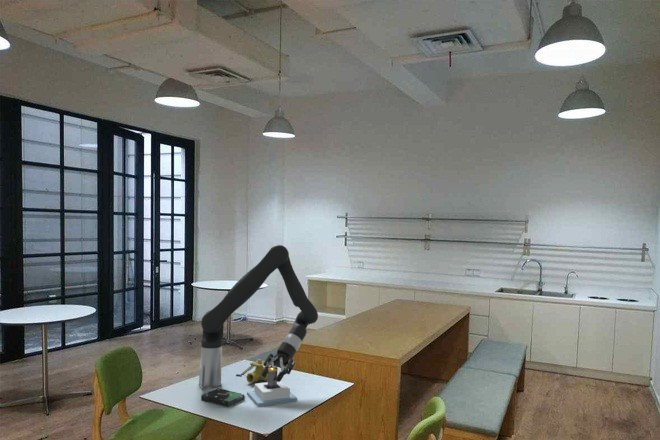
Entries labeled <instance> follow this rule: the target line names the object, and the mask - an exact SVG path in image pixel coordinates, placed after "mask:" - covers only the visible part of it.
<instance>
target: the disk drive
mask: <svg viewBox="0 0 660 440" xmlns="http://www.w3.org/2000/svg"><path fill="white" fill-rule="evenodd" d="M200 396H201V398H200V400H201V401H203V402H206V403H210V404H214V405H218V406H222V407H227V408H231V407H233V406H234V405H237V404H238V403H240V402H243V401H245V400H246V396H245V394H243V393H241V392H237V391H232V390H227V389H223V388H215V389H212V390H211V391H208V392H207V393H203V394H201V395H200Z"/></svg>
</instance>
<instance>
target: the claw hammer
mask: <svg viewBox="0 0 660 440" xmlns="http://www.w3.org/2000/svg"><path fill="white" fill-rule="evenodd" d="M254 367H255V366H254V365H250V366H249V367H247V368H246V369H245V370H244V371H242V372H241V373H240V374H239V373H238V374H235V376H236V377H240V378H243V377H242V375H244V374H246V373H248V372H249V371H250V370H252V368H254ZM247 371H248V372H247ZM240 375H241V376H240ZM244 376H245V375H244Z"/></svg>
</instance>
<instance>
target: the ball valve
mask: <svg viewBox="0 0 660 440" xmlns="http://www.w3.org/2000/svg"><path fill="white" fill-rule="evenodd" d="M264 362H265V360H263V359H261V358H258V359H256V361H254V362H253V361H252V362H250V363H249V365H250V366H251V365H254V367H255V368H254V370H253V371H251V372H249V373H248V372H247V375H245V376H246V377H245V378H246V381H247V382H248V383H249V384H253V383H255V382H261V381H264V382H268V374H267V375H266V377H265V378H264V377H263V376H262V372H263V370H264V369H265V366H264V365H263V363H264ZM267 363H268V362H267Z"/></svg>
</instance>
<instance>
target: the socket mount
mask: <svg viewBox="0 0 660 440" xmlns="http://www.w3.org/2000/svg"><path fill="white" fill-rule="evenodd" d="M267 386H268V382H267V381H264V382H258V383H254V387H253V388H254V390H250V391H246V395H247V396H248V398H249V399H250V400H251V401H252V402H253V403H254V404H255V405H256V406H257V407H264V406H265V407H266V406H271V405H278V404H285V403H291V402H298V397H297V396H296V395H295V394H294V393H292V392H291V389H290V387H288V386H287V385H286V384H285V383H284V382H283V381H282V380H281V381H280V382H277V388H275V389H267Z"/></svg>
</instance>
